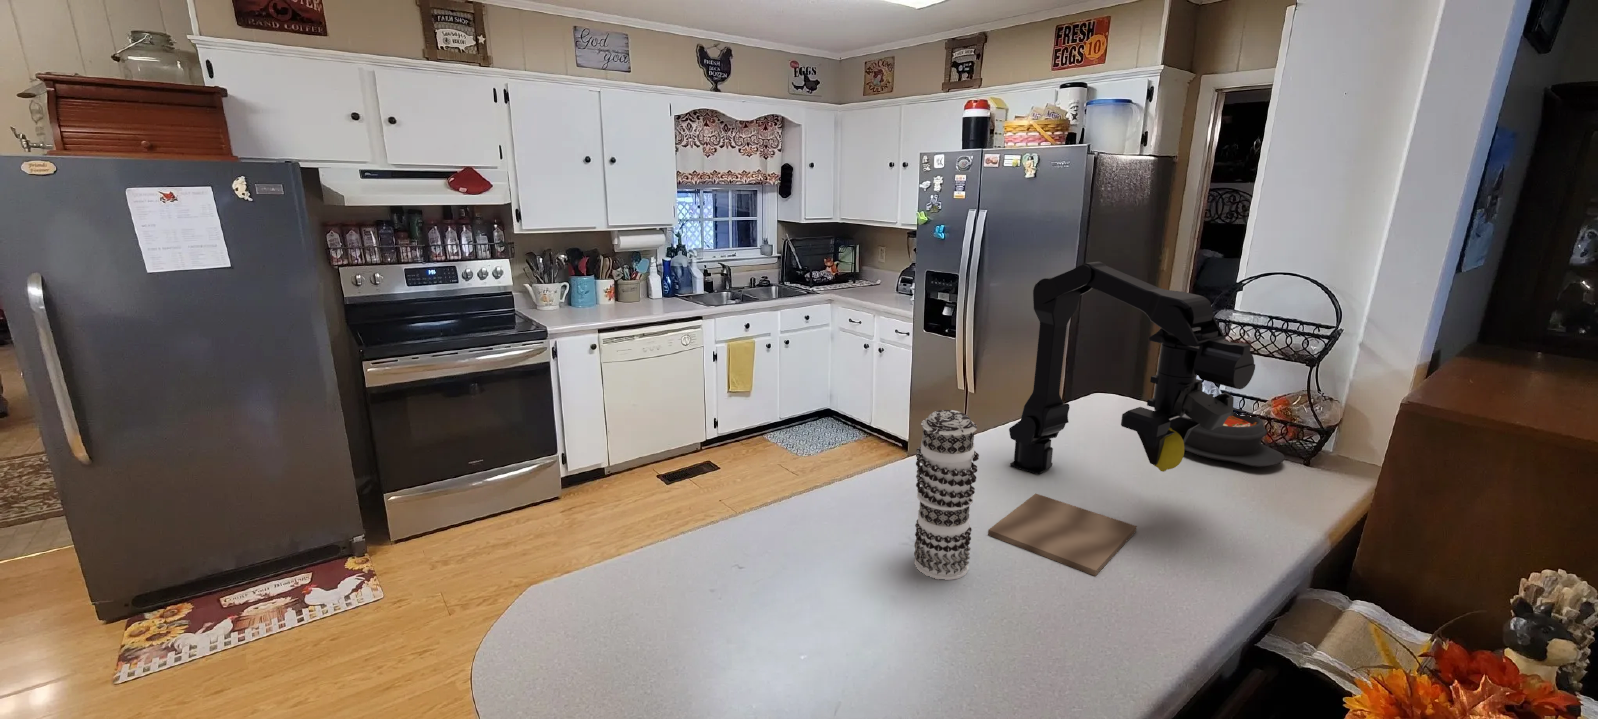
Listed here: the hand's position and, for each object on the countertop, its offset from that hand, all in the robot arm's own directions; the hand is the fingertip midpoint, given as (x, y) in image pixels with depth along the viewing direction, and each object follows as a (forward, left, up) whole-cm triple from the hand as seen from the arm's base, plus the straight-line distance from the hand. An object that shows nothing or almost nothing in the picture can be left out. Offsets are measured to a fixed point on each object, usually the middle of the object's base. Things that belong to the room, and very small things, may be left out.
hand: (1163, 460), depth 117 cm
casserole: (0, +42, -12) cm, 43 cm away
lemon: (0, 0, -2) cm, 2 cm away
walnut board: (-10, -14, -12) cm, 21 cm away
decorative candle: (-20, -36, -12) cm, 43 cm away
